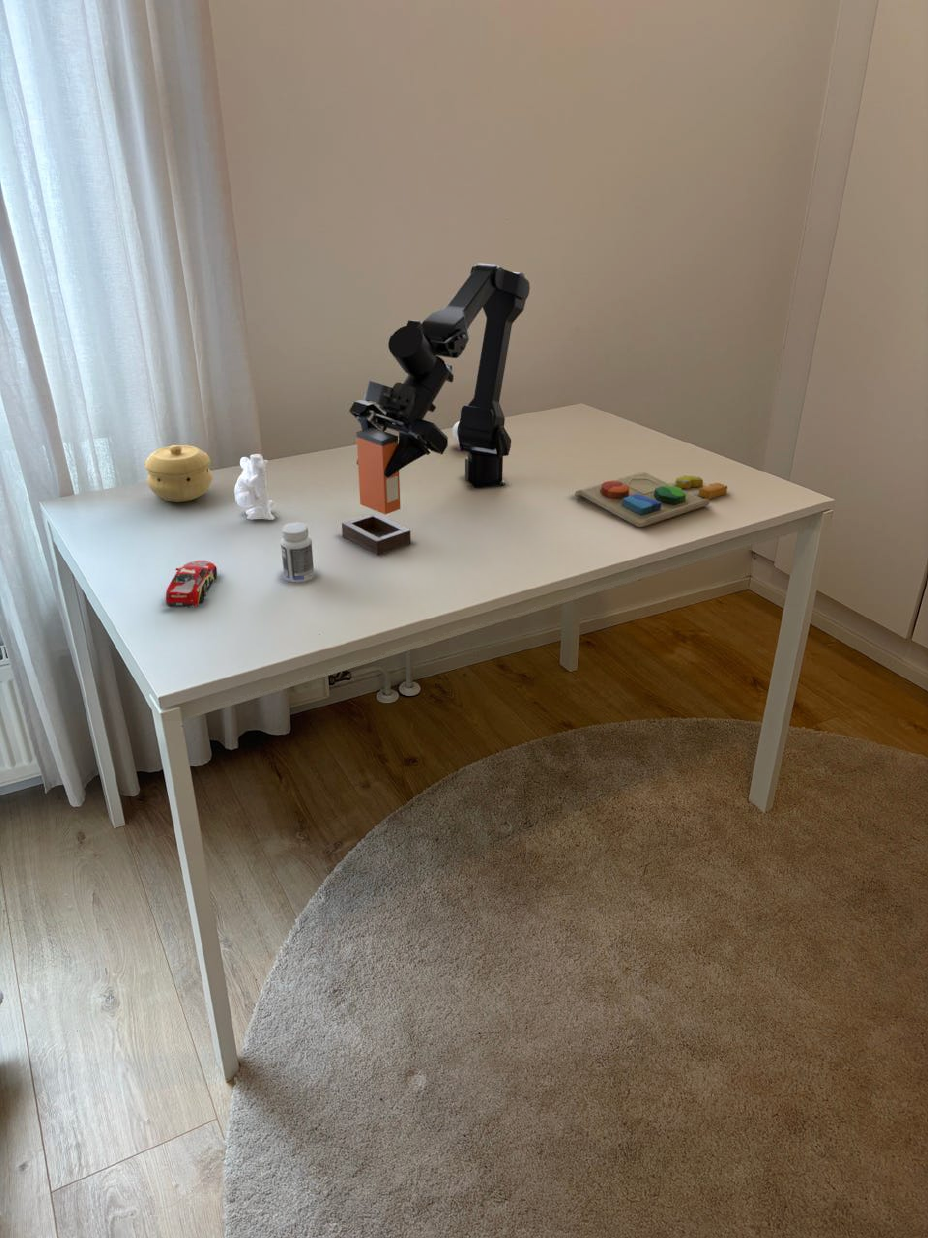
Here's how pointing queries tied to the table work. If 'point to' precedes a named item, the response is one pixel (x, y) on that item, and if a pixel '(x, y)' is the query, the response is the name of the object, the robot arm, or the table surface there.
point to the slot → (376, 533)
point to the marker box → (377, 470)
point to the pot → (178, 473)
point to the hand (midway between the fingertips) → (371, 470)
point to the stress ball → (455, 432)
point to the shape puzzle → (650, 497)
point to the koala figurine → (253, 488)
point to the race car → (191, 584)
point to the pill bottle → (297, 553)
